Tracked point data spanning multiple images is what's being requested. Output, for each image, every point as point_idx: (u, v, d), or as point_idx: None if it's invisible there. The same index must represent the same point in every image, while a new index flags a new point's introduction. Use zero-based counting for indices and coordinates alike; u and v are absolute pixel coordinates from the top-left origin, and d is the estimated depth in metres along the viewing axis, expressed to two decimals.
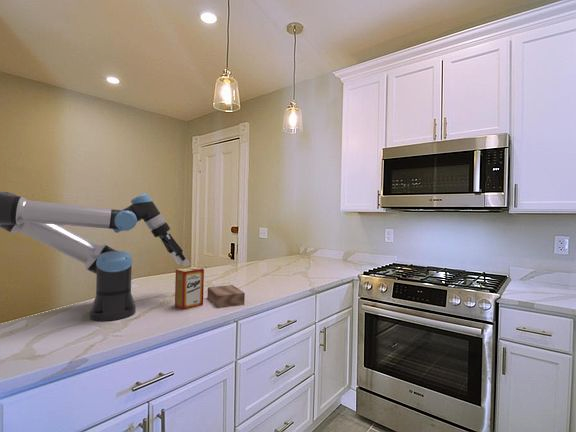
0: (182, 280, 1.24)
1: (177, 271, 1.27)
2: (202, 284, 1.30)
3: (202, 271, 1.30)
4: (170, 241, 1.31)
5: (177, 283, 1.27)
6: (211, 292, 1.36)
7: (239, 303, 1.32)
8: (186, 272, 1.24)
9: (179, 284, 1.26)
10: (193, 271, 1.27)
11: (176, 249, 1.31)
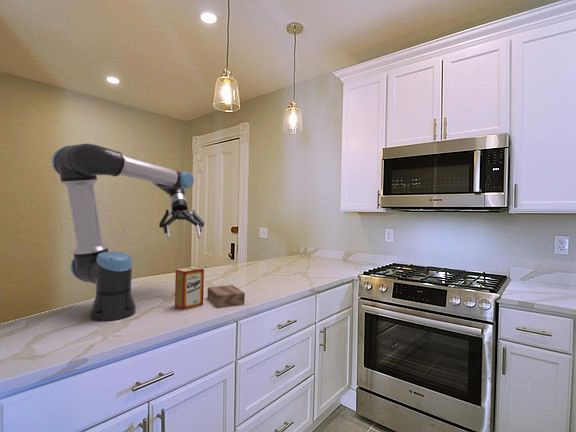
0: (182, 280, 1.24)
1: (177, 271, 1.27)
2: (202, 284, 1.30)
3: (202, 271, 1.30)
4: None
5: (177, 283, 1.27)
6: (211, 292, 1.36)
7: (239, 303, 1.32)
8: (186, 272, 1.24)
9: (179, 284, 1.26)
10: (193, 271, 1.27)
11: None
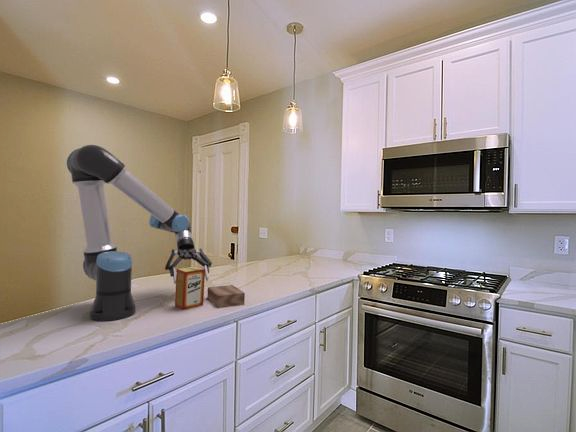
0: (183, 280, 1.24)
1: (178, 271, 1.26)
2: (203, 284, 1.30)
3: (203, 271, 1.29)
4: None
5: (178, 283, 1.26)
6: (211, 292, 1.36)
7: (239, 303, 1.32)
8: (187, 272, 1.24)
9: (179, 284, 1.25)
10: (194, 271, 1.26)
11: None
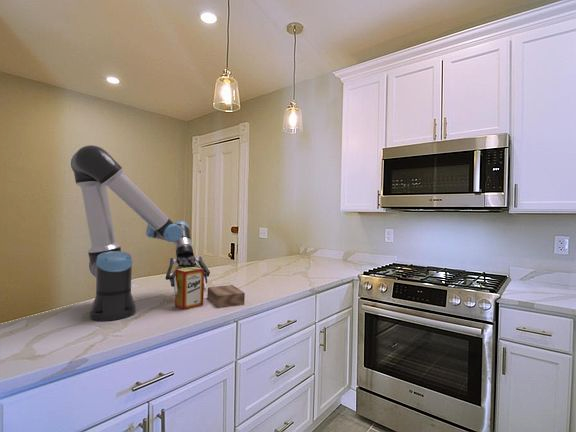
0: (182, 280, 1.24)
1: (177, 271, 1.27)
2: (202, 284, 1.30)
3: (202, 271, 1.30)
4: None
5: (177, 283, 1.26)
6: (211, 292, 1.36)
7: (239, 303, 1.32)
8: (186, 272, 1.24)
9: (179, 284, 1.26)
10: (193, 271, 1.27)
11: None
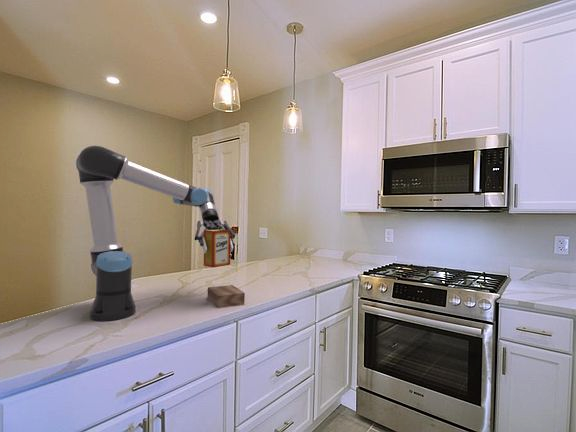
0: (211, 239, 1.30)
1: (206, 231, 1.32)
2: (229, 245, 1.36)
3: (228, 232, 1.36)
4: None
5: (206, 243, 1.32)
6: (211, 292, 1.36)
7: (239, 303, 1.32)
8: (215, 232, 1.30)
9: (208, 244, 1.31)
10: (221, 231, 1.33)
11: None
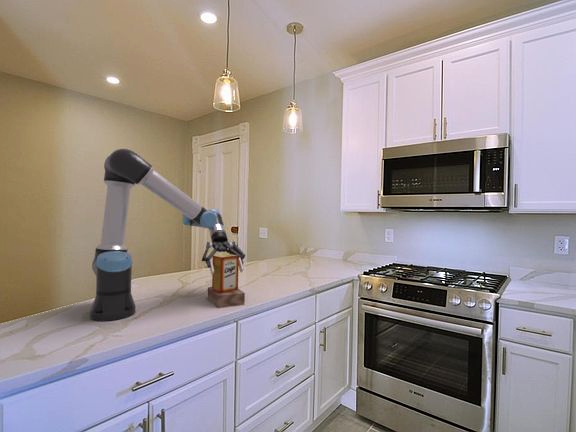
0: (220, 265, 1.32)
1: (214, 257, 1.35)
2: (237, 270, 1.38)
3: (237, 257, 1.38)
4: None
5: (214, 268, 1.35)
6: (211, 292, 1.36)
7: (239, 303, 1.32)
8: (224, 258, 1.32)
9: (216, 270, 1.34)
10: (229, 257, 1.35)
11: None
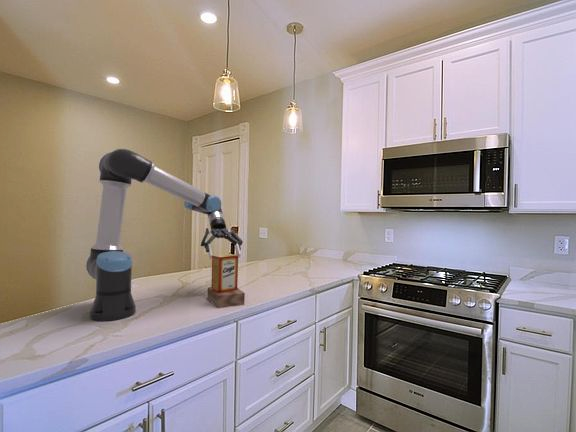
0: (218, 265, 1.32)
1: (213, 257, 1.35)
2: (236, 270, 1.38)
3: (236, 257, 1.38)
4: None
5: (213, 268, 1.35)
6: (211, 292, 1.36)
7: (239, 303, 1.32)
8: (222, 258, 1.32)
9: (215, 269, 1.34)
10: (228, 257, 1.35)
11: None
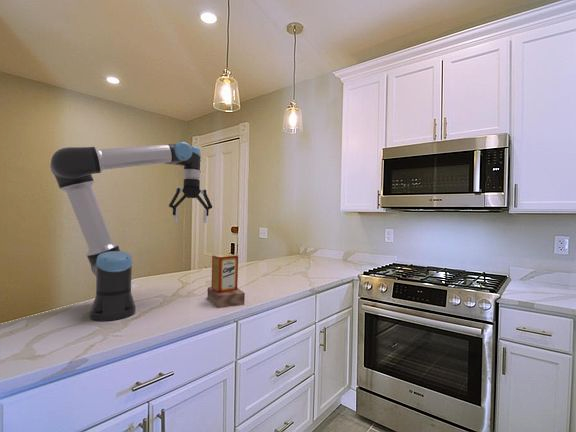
0: (218, 265, 1.32)
1: (214, 257, 1.35)
2: (236, 270, 1.38)
3: (236, 257, 1.38)
4: None
5: (214, 268, 1.35)
6: (211, 292, 1.36)
7: (239, 303, 1.32)
8: (222, 258, 1.32)
9: (215, 269, 1.34)
10: (228, 257, 1.35)
11: None
